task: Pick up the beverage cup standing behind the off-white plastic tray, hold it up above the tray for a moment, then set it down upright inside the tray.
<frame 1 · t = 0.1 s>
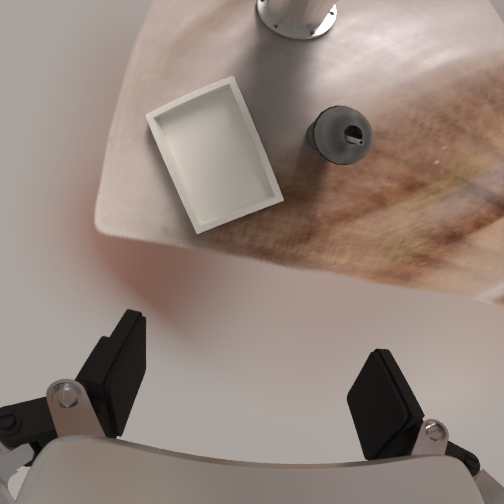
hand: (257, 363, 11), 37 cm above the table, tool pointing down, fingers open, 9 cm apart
tray: (215, 154, 44), on the table
beverage cup: (320, 136, 43), on the table
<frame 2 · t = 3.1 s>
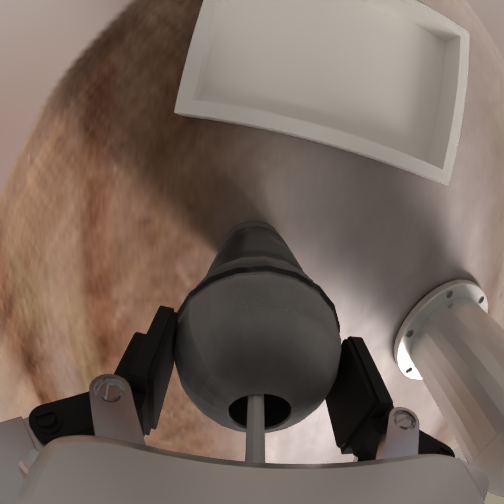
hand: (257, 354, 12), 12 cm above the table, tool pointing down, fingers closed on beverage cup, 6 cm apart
tray: (337, 58, 18), on the table
beverage cup: (253, 248, 23), on the table, touching gripper
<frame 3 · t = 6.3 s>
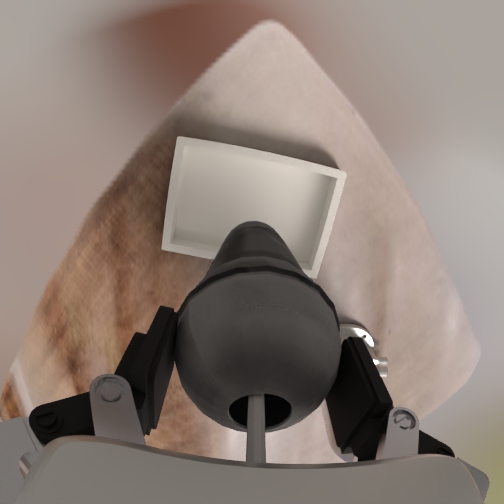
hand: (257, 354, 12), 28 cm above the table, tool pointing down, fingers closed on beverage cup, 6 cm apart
tray: (251, 204, 37), on the table
beverage cup: (253, 248, 23), point 15 cm above the table, touching gripper
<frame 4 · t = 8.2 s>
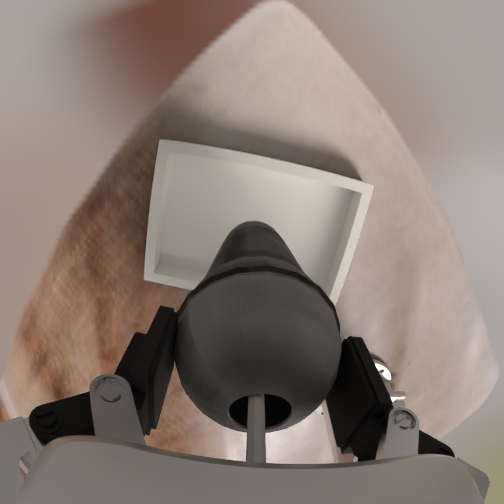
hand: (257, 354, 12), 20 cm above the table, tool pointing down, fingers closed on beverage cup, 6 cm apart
tray: (253, 224, 30), on the table
beverage cup: (253, 248, 23), point 7 cm above the table, touching gripper
when the fingers open (15 cm above the table, at t = 9.7 s): beverage cup drops 2 cm, resting on tray.
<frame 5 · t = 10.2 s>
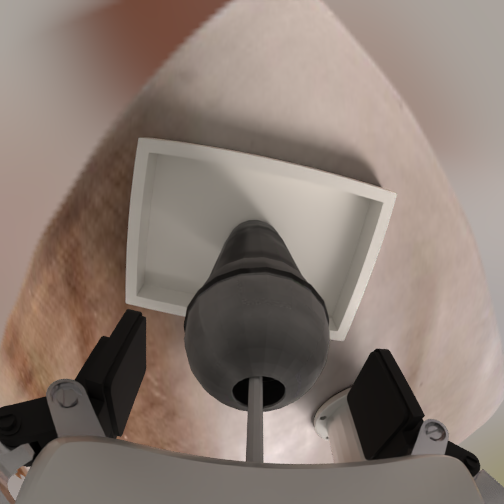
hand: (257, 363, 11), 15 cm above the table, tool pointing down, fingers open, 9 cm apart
tray: (253, 239, 25), on the table
beverage cup: (253, 244, 25), resting on tray
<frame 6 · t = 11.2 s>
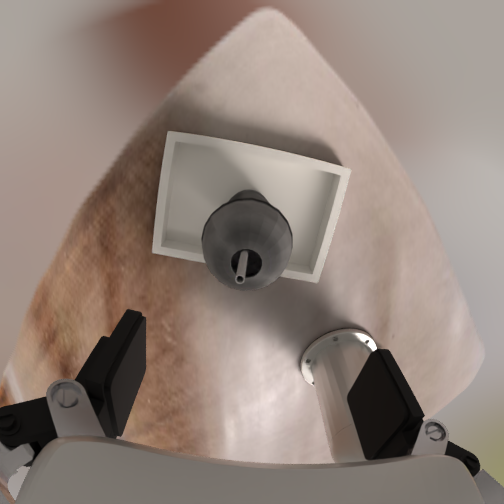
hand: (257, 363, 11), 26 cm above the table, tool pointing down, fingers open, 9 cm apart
tray: (247, 204, 35), on the table
beverage cup: (248, 208, 34), resting on tray
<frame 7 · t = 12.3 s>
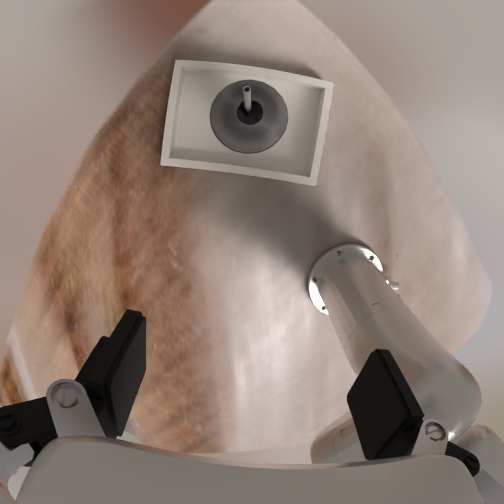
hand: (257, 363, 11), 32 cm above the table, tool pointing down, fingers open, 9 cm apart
tray: (246, 120, 36), on the table
beverage cup: (247, 122, 36), resting on tray
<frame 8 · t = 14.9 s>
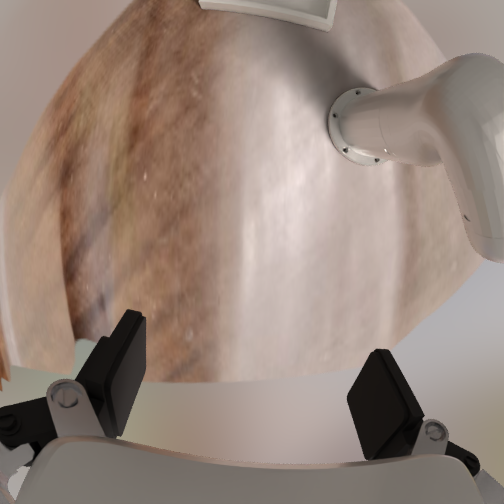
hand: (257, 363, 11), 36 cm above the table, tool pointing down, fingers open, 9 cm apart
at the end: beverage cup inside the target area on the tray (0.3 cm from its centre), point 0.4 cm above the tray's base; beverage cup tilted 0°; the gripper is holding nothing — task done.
